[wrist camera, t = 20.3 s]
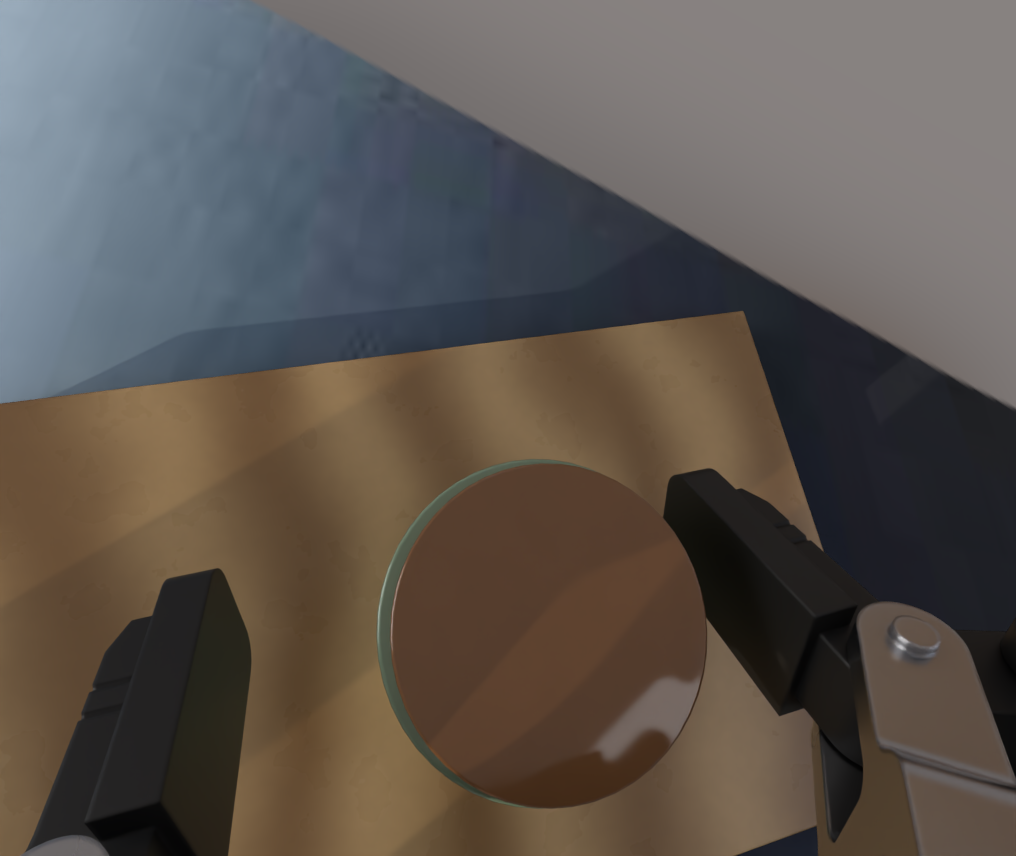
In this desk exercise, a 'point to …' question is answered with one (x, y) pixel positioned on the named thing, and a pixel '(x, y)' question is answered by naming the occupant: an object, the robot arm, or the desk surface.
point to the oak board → (377, 576)
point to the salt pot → (541, 634)
